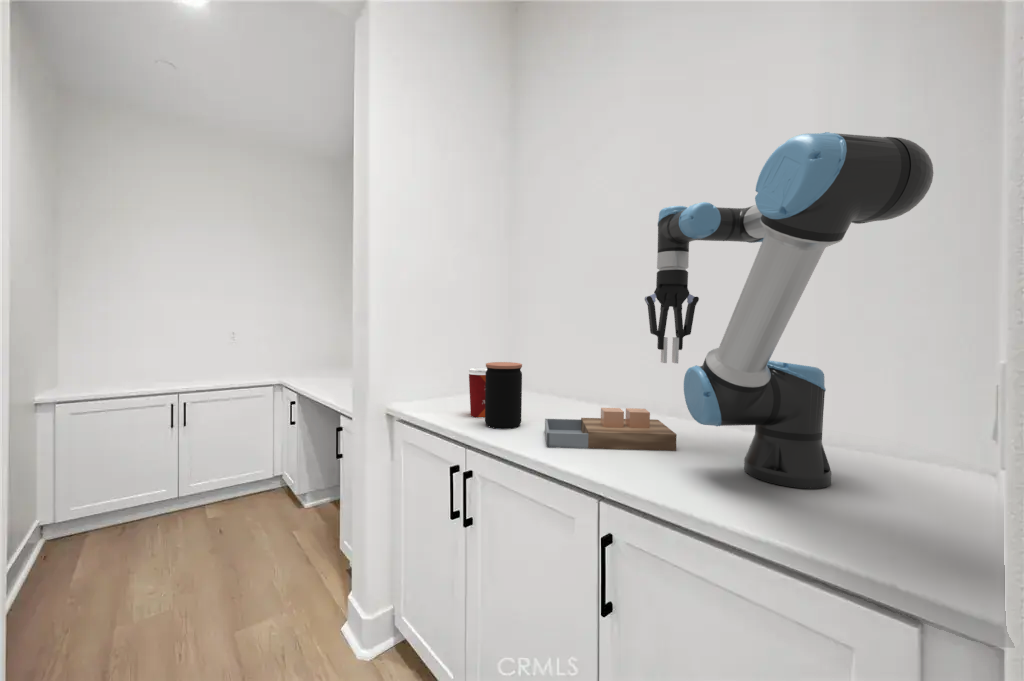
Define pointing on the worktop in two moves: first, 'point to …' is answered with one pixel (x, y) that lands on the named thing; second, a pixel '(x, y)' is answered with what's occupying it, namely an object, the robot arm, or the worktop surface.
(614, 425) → the tile
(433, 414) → the worktop surface
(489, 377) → the coffee jar
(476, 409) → the coffee cup
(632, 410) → the tile
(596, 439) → the board
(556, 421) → the tray
